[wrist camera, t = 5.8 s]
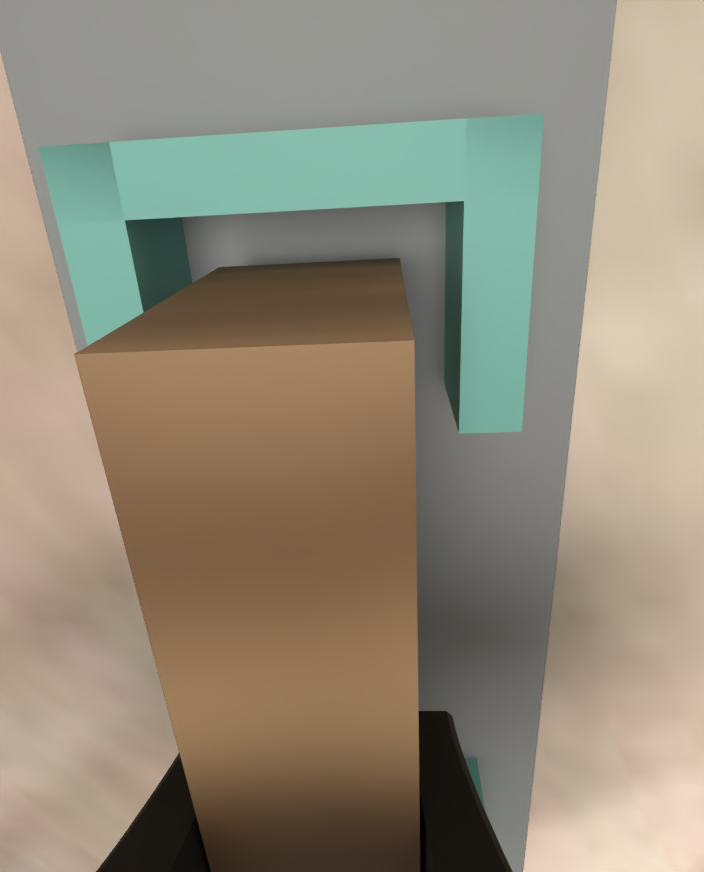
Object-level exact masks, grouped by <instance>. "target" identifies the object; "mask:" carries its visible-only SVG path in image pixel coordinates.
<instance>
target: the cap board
mask: <svg viewBox="0 0 704 872" xmlns="http://www.w3.org/2000/svg"><path fill="white" fill-rule="evenodd" d="M616 4H617V0H0V52H1V56H2V60H3V64H4V68H5V72H6V76H7V79H8V83H9V87H10V91H11V95H12V99H13V103H14V107H15V111H16V115H17V118H18V122H19V126H20V130H21V134H22V138H23V142H24V146H25V150H26V154H27V158H28V161H29V165H30V169H31V173H32V177H33V181H34V185H35V189H36V193H37V197H38V200H39V204H40V208H41V212H42V216H43V220H44V224H45V228H46V232H47V236H48V240H49V243H50V247H51V251H52V255H53V259H54V263H55V267H56V271H57V275H58V279H59V282H60V286H61V290H62V294H63V298H64V302H65V306H66V310H67V314H68V318H69V322H70V325H71V329H72V333H73V337H74V341H75V345H76V349H77V352H79V351H80V350H82V349H84V348H85V347H87V346H89V345H90V344H92V343H94V342H95V341H97V340H99V339H100V338H102V337H104V336H105V335H107V334H109V333H110V332H112V331H114V330H115V329H117V328H119V327H120V326H122V325H124V324H125V323H127V322H129V321H130V320H132V319H134V318H135V317H137V316H139V315H140V314H142V313H144V312H145V311H147V310H149V309H150V308H152V307H154V306H155V305H157V304H159V303H160V302H162V301H164V300H165V299H167V298H169V297H170V296H172V295H174V294H175V293H177V292H179V291H180V290H182V289H184V288H185V287H187V286H189V285H190V284H192V283H194V282H195V281H197V280H199V279H200V278H202V277H204V276H205V275H207V274H209V273H210V272H212V271H214V270H215V269H217V268H219V267H230V266H250V265H270V264H289V263H309V262H329V261H349V260H368V259H388V258H400V263H401V268H402V274H403V279H404V285H405V291H406V296H407V302H408V307H409V313H410V318H411V324H412V330H413V335H414V348H415V439H416V529H417V620H418V711H447V712H448V713H449V714H451V715H452V716H453V720H454V725H455V729H456V732H457V736H458V739H459V743H460V746H461V749H462V752H463V755H464V758H465V761H466V764H467V766H468V769H469V772H470V774H471V777H472V780H473V782H474V785H475V787H476V790H477V793H478V795H479V798H480V800H481V802H482V805H483V807H484V810H485V812H486V814H487V817H488V819H489V821H490V823H491V825H492V828H493V830H494V832H495V834H496V837H497V839H498V841H499V843H500V846H501V848H502V850H503V852H504V855H505V857H506V859H507V861H508V863H509V865H510V867H511V869H512V871H513V872H523V867H524V858H525V849H526V839H527V830H528V821H529V811H530V802H531V793H532V784H533V774H534V765H535V756H536V746H537V737H538V728H539V719H540V709H541V700H542V691H543V682H544V672H545V663H546V654H547V644H548V635H549V626H550V617H551V607H552V598H553V589H554V579H555V570H556V561H557V552H558V542H559V533H560V524H561V514H562V505H563V496H564V487H565V477H566V468H567V459H568V449H569V440H570V431H571V422H572V412H573V403H574V394H575V385H576V375H577V366H578V357H579V347H580V338H581V329H582V320H583V310H584V301H585V292H586V282H587V273H588V264H589V255H590V245H591V236H592V227H593V217H594V208H595V199H596V190H597V180H598V171H599V162H600V153H601V143H602V134H603V125H604V115H605V106H606V97H607V88H608V78H609V69H610V60H611V50H612V41H613V32H614V23H615V13H616Z"/></svg>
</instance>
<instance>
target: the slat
mask: <svg viewBox="0 0 704 872" xmlns="http://www.w3.org/2000/svg"><path fill="white" fill-rule="evenodd" d="M74 356H75V360H76V363H77V367H78V371H79V375H80V379H81V382H82V386H83V390H84V394H85V397H86V401H87V405H88V409H89V413H90V416H91V420H92V424H93V428H94V432H95V435H96V439H97V443H98V447H99V450H100V454H101V458H102V462H103V466H104V469H105V473H106V477H107V481H108V484H109V488H110V492H111V496H112V500H113V503H114V507H115V511H116V515H117V518H118V522H119V526H120V530H121V534H122V537H123V541H124V545H125V549H126V553H127V556H128V560H129V564H130V568H131V571H132V575H133V579H134V583H135V587H136V590H137V594H138V598H139V602H140V605H141V609H142V613H143V617H144V621H145V624H146V628H147V632H148V636H149V639H150V643H151V647H152V651H153V655H154V658H155V662H156V666H157V670H158V674H159V677H160V681H161V685H162V689H163V692H164V696H165V700H166V704H167V708H168V711H169V715H170V719H171V723H172V726H173V730H174V734H175V738H176V742H177V745H178V749H179V753H180V757H181V760H182V764H183V768H184V772H185V776H186V779H187V783H188V787H189V791H190V795H191V798H192V802H193V806H194V810H195V813H196V817H197V821H198V825H199V829H200V832H201V836H202V840H203V844H204V847H205V851H206V855H207V859H208V863H209V866H210V870H211V872H420V802H419V711H418V620H417V529H416V439H415V348H414V335H413V330H412V324H411V318H410V313H409V307H408V302H407V296H406V291H405V285H404V279H403V274H402V268H401V263H400V258H388V259H368V260H349V261H329V262H309V263H289V264H270V265H250V266H230V267H219V268H217V269H215V270H214V271H212V272H210V273H209V274H207V275H205V276H204V277H202V278H200V279H199V280H197V281H195V282H194V283H192V284H190V285H189V286H187V287H185V288H184V289H182V290H180V291H179V292H177V293H175V294H174V295H172V296H170V297H169V298H167V299H165V300H164V301H162V302H160V303H159V304H157V305H155V306H154V307H152V308H150V309H149V310H147V311H145V312H144V313H142V314H140V315H139V316H137V317H135V318H134V319H132V320H130V321H129V322H127V323H125V324H124V325H122V326H120V327H119V328H117V329H115V330H114V331H112V332H110V333H109V334H107V335H105V336H104V337H102V338H100V339H99V340H97V341H95V342H94V343H92V344H90V345H89V346H87V347H85V348H84V349H82V350H80V351H79V352H77V353H75V354H74Z"/></svg>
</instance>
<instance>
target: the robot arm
mask: <svg viewBox="0 0 704 872" xmlns="http://www.w3.org/2000/svg"><path fill="white" fill-rule="evenodd" d="M419 802H420V872H513V871H512V869H511V867H510V865H509V863H508V861H507V859H506V857H505V855H504V852H503V850H502V848H501V846H500V843H499V841H498V839H497V837H496V834H495V832H494V830H493V828H492V825H491V823H490V821H489V819H488V817H487V814H486V812H485V810H484V807H483V805H482V802H481V800H480V798H479V795H478V793H477V790H476V787H475V785H474V782H473V780H472V777H471V774H470V772H469V769H468V766H467V764H466V761H465V758H464V755H463V752H462V749H461V746H460V743H459V739H458V736H457V732H456V729H455V725H454V720H453V716H452V715H451V714H449V713H448V712H447V711H419ZM96 872H211V870H210V866H209V863H208V859H207V855H206V851H205V847H204V844H203V840H202V836H201V832H200V829H199V825H198V821H197V817H196V813H195V810H194V806H193V802H192V798H191V795H190V791H189V787H188V783H187V779H186V776H185V772H184V768H183V764H182V760H181V757H180V753H179V754H178V756H177V757H176V759H175V760H174V762H173V763H172V765H171V767H170V768H169V770H168V771H167V773H166V774H165V776H164V777H163V779H162V780H161V782H160V783H159V785H158V786H157V788H156V789H155V791H154V792H153V794H152V795H151V796H150V798H149V799H148V801H147V802H146V804H145V805H144V807H143V808H142V809H141V811H140V812H139V814H138V815H137V817H136V818H135V819H134V821H133V822H132V824H131V825H130V827H129V828H128V830H127V831H126V832H125V834H124V835H123V837H122V838H121V839H120V841H119V842H118V843H117V845H116V846H115V848H114V849H113V850H112V852H111V853H110V854H109V855H108V857H107V858H106V859H105V861H104V862H103V863H102V865H101V866H100V867H99V869H98V870H97V871H96Z"/></svg>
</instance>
